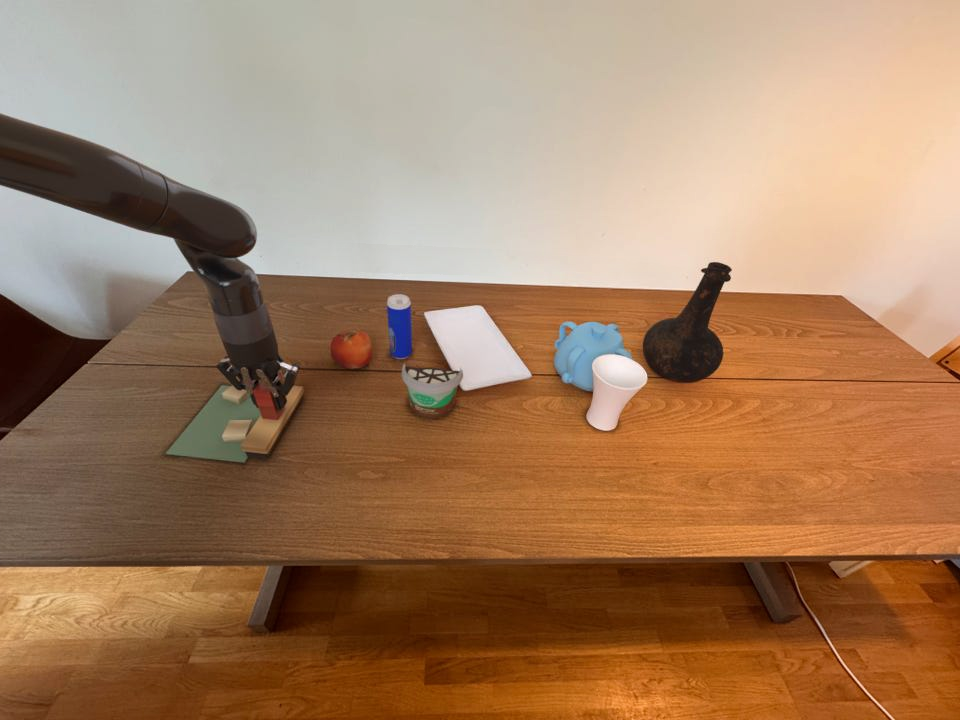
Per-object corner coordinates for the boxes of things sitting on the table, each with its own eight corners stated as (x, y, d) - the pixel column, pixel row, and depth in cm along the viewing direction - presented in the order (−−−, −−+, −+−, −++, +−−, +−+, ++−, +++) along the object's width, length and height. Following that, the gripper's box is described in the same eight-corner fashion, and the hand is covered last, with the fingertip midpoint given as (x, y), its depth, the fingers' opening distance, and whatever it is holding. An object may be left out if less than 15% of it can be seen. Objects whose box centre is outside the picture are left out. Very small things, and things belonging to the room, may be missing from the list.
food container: (397, 420, 84) (395, 383, 78) (403, 398, 89) (401, 362, 83) (459, 425, 84) (461, 388, 78) (461, 403, 89) (463, 367, 83)
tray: (480, 313, 117) (481, 303, 115) (531, 386, 95) (534, 375, 93) (421, 322, 112) (421, 311, 110) (461, 402, 90) (462, 390, 87)
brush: (269, 459, 74) (255, 420, 68) (244, 456, 74) (228, 417, 68) (305, 397, 87) (296, 359, 80) (284, 394, 87) (273, 356, 80)
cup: (627, 409, 92) (648, 361, 83) (625, 444, 84) (647, 395, 76) (580, 396, 94) (595, 348, 86) (573, 429, 86) (589, 380, 78)
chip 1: (240, 405, 84) (237, 399, 83) (223, 399, 85) (221, 393, 84) (254, 392, 87) (252, 386, 86) (238, 387, 88) (236, 381, 87)
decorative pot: (550, 350, 107) (560, 304, 98) (613, 357, 106) (629, 312, 98) (552, 393, 94) (564, 344, 86) (624, 402, 94) (643, 354, 85)
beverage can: (388, 348, 102) (385, 294, 93) (410, 345, 103) (408, 292, 94) (392, 361, 98) (388, 306, 89) (413, 358, 100) (412, 304, 90)
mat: (244, 462, 74) (244, 462, 73) (165, 454, 74) (165, 453, 74) (288, 392, 88) (288, 392, 88) (222, 385, 88) (221, 385, 88)
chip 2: (247, 441, 77) (245, 435, 76) (224, 442, 76) (221, 436, 75) (254, 425, 80) (252, 419, 79) (231, 425, 79) (229, 420, 78)
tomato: (380, 367, 96) (377, 339, 91) (340, 380, 92) (335, 351, 87) (365, 346, 102) (362, 318, 97) (327, 356, 98) (322, 328, 93)
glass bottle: (667, 400, 95) (721, 292, 78) (621, 353, 108) (658, 251, 91) (725, 386, 101) (788, 282, 83) (675, 343, 114) (720, 245, 96)
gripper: (300, 320, 69) (316, 396, 80) (215, 311, 69) (244, 388, 80) (279, 347, 63) (300, 425, 74) (187, 337, 64) (222, 416, 74)
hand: (271, 405), depth 77 cm, fingers closed on brush, 3 cm apart
